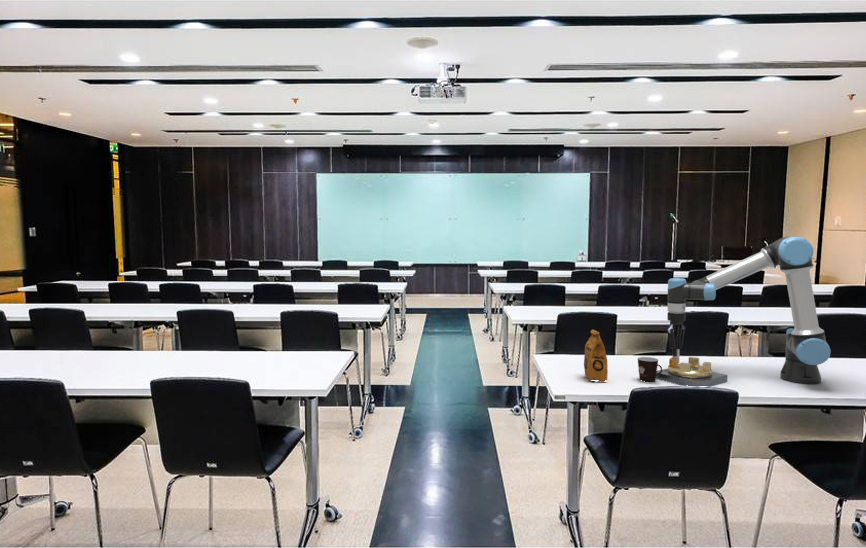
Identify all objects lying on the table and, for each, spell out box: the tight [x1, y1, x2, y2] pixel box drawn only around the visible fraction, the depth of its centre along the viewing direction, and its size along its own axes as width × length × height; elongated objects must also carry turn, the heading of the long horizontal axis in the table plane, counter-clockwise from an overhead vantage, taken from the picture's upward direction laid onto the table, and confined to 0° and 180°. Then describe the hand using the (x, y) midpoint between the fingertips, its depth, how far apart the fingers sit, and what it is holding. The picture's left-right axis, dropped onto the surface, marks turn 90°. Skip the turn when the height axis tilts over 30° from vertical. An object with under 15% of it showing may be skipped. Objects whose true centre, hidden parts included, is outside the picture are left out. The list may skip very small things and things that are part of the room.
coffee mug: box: [637, 356, 663, 383], centre depth 239 cm, size 12×9×10 cm
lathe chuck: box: [667, 356, 713, 378], centre depth 241 cm, size 18×18×6 cm
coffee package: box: [583, 329, 609, 381], centre depth 244 cm, size 10×12×22 cm
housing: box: [655, 367, 729, 387], centre depth 242 cm, size 22×22×3 cm
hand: (675, 362), depth 247 cm, fingers closed
